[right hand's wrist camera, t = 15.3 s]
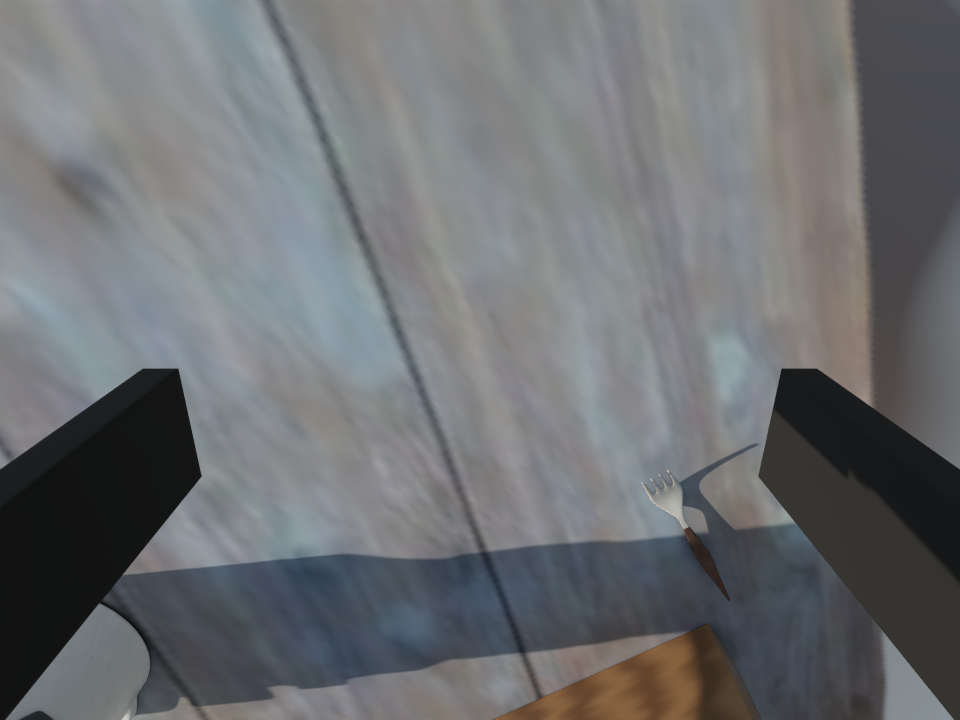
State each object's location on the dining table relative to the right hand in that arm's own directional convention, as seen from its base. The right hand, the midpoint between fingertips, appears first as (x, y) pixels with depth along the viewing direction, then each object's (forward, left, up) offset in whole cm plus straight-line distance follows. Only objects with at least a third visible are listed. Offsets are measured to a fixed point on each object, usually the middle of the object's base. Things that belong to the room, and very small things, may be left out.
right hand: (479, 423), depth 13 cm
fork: (+5, +30, -27) cm, 41 cm away
